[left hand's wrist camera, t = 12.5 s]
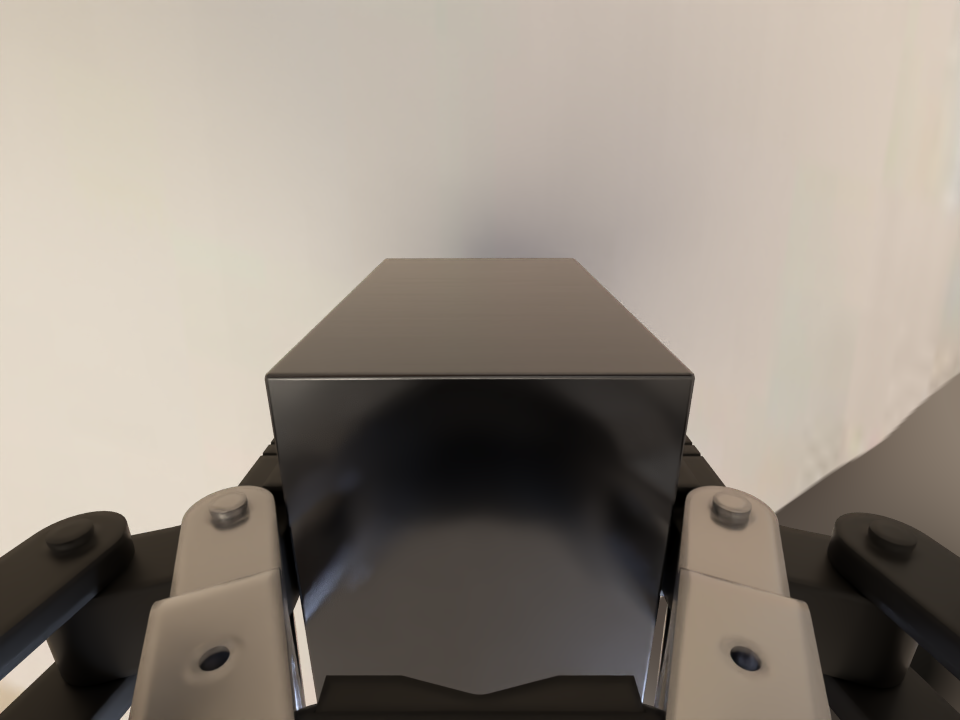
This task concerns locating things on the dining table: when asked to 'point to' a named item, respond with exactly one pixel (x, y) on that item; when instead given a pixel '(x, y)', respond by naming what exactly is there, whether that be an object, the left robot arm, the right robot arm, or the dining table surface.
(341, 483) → the bar
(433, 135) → the dining table surface
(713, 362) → the dining table surface
